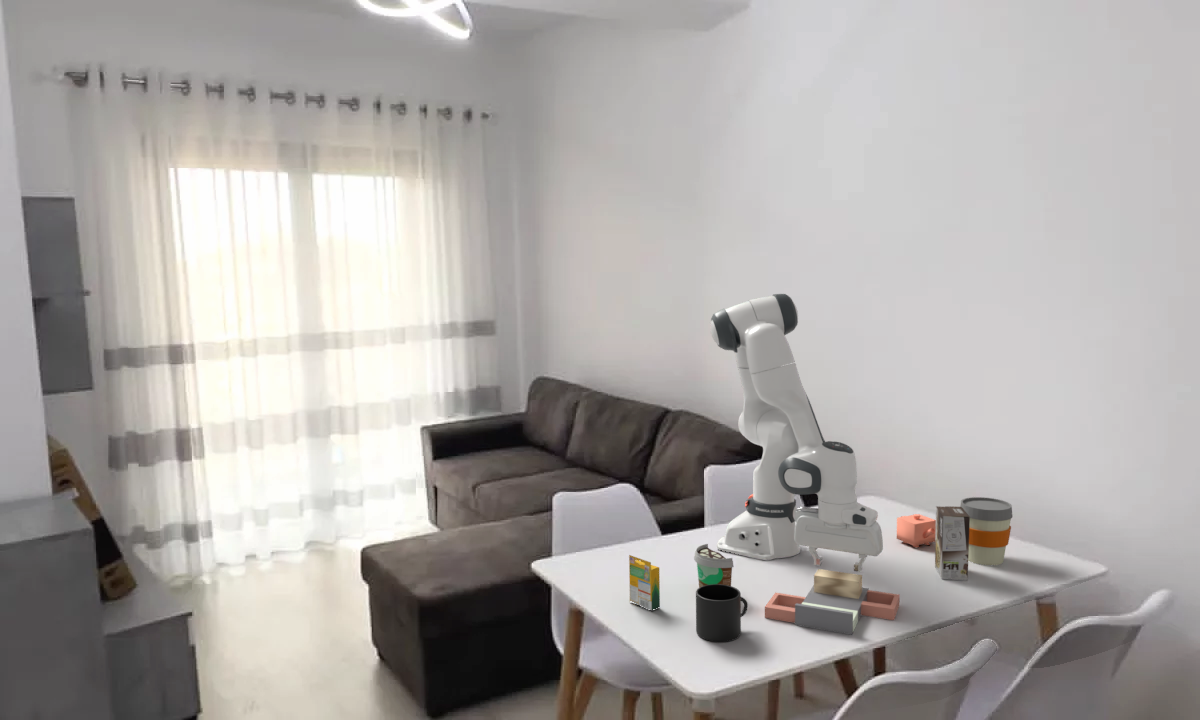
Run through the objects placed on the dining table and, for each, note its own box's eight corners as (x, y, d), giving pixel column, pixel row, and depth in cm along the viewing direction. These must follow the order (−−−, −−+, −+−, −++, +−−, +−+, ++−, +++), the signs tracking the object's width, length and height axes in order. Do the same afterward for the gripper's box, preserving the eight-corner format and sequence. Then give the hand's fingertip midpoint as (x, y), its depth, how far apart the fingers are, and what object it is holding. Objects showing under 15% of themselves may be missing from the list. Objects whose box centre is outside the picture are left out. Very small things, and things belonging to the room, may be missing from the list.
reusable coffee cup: (948, 558, 221) (949, 502, 219) (974, 548, 228) (976, 494, 227) (994, 571, 211) (996, 513, 209) (1020, 560, 218) (1022, 504, 217)
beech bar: (813, 592, 194) (814, 575, 194) (818, 585, 198) (818, 568, 198) (858, 598, 190) (858, 581, 189) (862, 591, 194) (862, 575, 193)
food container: (684, 586, 206) (684, 546, 205) (706, 582, 208) (706, 543, 207) (711, 604, 195) (710, 562, 193) (733, 599, 197) (733, 558, 196)
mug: (759, 635, 178) (759, 593, 177) (710, 646, 173) (710, 604, 172) (735, 618, 187) (735, 579, 186) (688, 628, 182) (687, 588, 181)
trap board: (763, 619, 186) (763, 599, 185) (787, 586, 204) (787, 568, 204) (886, 640, 174) (887, 619, 174) (900, 603, 193) (900, 584, 192)
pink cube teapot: (922, 553, 226) (923, 523, 225) (891, 540, 237) (891, 511, 236) (945, 548, 229) (945, 519, 228) (913, 536, 240) (913, 507, 239)
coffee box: (968, 581, 205) (970, 516, 204) (940, 579, 207) (942, 515, 205) (960, 567, 214) (962, 506, 212) (934, 566, 216) (935, 505, 214)
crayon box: (660, 608, 193) (660, 559, 192) (651, 612, 191) (650, 562, 190) (638, 599, 198) (637, 551, 197) (629, 602, 197) (628, 554, 195)
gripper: (790, 509, 201) (790, 565, 202) (878, 520, 190) (878, 579, 192) (798, 502, 206) (799, 557, 207) (884, 512, 195) (884, 570, 197)
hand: (837, 567), depth 199 cm, fingers open, 8 cm apart
